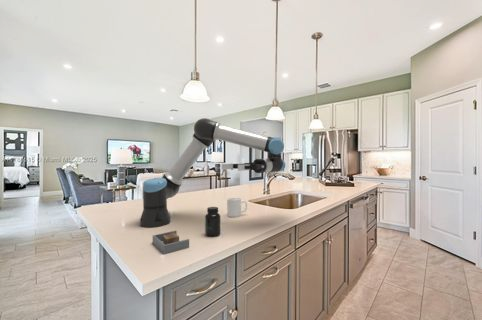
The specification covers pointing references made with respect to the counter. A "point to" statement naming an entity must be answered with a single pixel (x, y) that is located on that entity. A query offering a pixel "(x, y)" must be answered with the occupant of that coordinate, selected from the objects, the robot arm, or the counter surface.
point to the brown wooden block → (170, 238)
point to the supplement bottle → (212, 222)
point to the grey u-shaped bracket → (169, 247)
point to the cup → (235, 207)
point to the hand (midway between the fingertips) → (229, 167)
